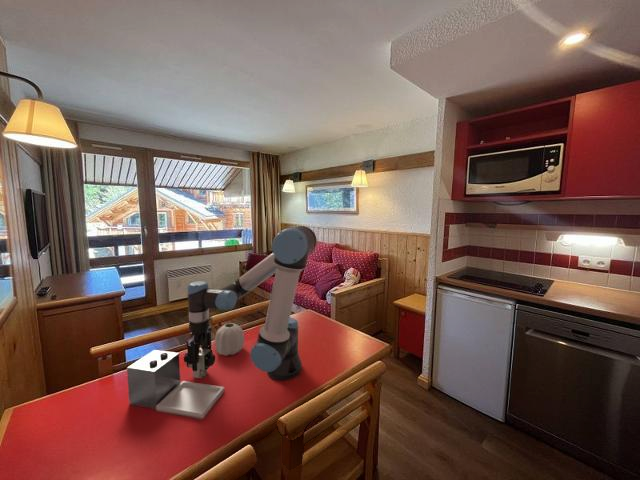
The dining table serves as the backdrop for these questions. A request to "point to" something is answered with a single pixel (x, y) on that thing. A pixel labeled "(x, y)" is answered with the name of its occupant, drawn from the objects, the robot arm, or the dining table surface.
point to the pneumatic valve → (202, 361)
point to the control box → (153, 378)
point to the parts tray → (191, 399)
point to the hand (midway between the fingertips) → (200, 372)
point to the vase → (229, 339)
